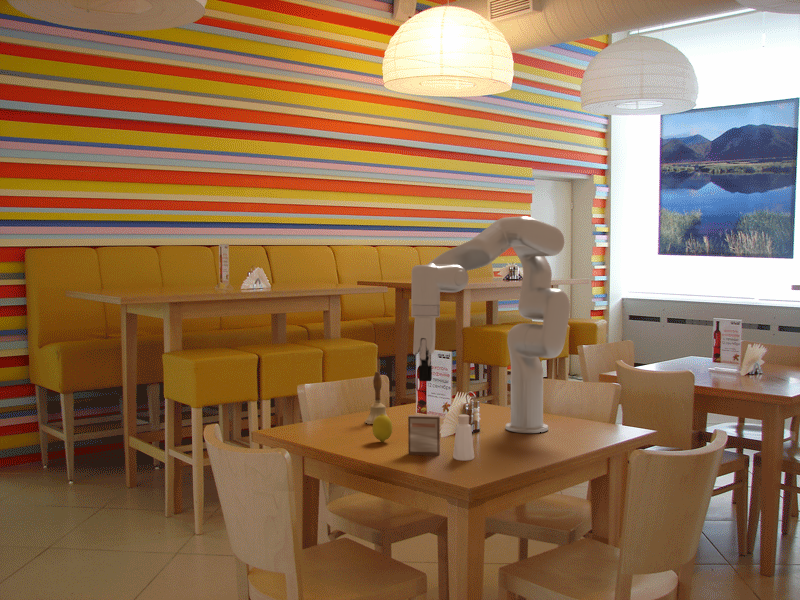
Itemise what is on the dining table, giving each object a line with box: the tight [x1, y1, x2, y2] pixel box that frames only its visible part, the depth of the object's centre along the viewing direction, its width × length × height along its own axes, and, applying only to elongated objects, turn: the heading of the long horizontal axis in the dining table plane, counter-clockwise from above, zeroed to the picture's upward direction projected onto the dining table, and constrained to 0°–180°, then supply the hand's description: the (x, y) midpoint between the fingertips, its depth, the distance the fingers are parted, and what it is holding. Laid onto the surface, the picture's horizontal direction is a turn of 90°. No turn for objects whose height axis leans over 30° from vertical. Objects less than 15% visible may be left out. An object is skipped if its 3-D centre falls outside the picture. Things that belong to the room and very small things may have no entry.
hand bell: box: [364, 371, 389, 425], centre depth 240 cm, size 8×8×16 cm
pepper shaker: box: [452, 413, 475, 462], centre depth 194 cm, size 5×5×11 cm
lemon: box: [372, 414, 393, 443], centre depth 212 cm, size 6×6×8 cm
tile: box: [407, 414, 441, 457], centre depth 199 cm, size 2×8×10 cm, turn 81°
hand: (425, 380), depth 203 cm, fingers closed
